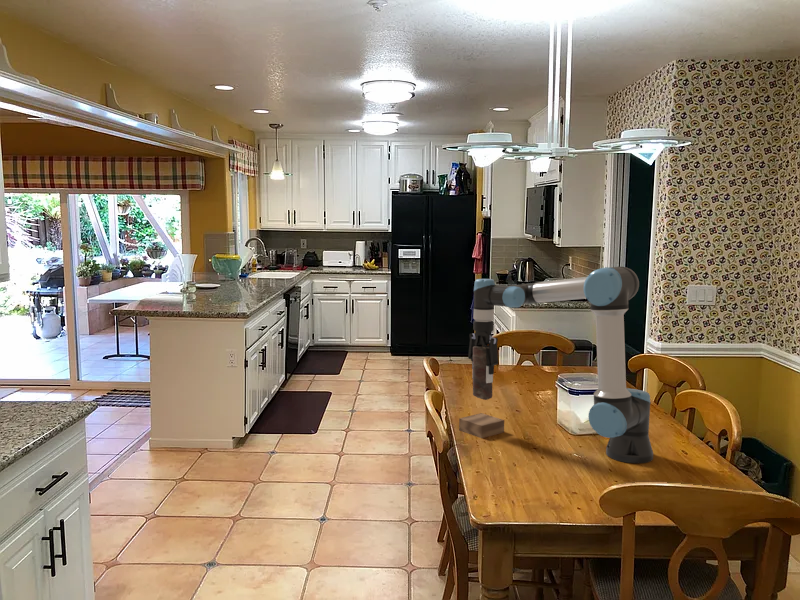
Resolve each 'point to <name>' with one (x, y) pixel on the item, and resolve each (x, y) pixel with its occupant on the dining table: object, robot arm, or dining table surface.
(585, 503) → the dining table surface
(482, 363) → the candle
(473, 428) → the walnut block
